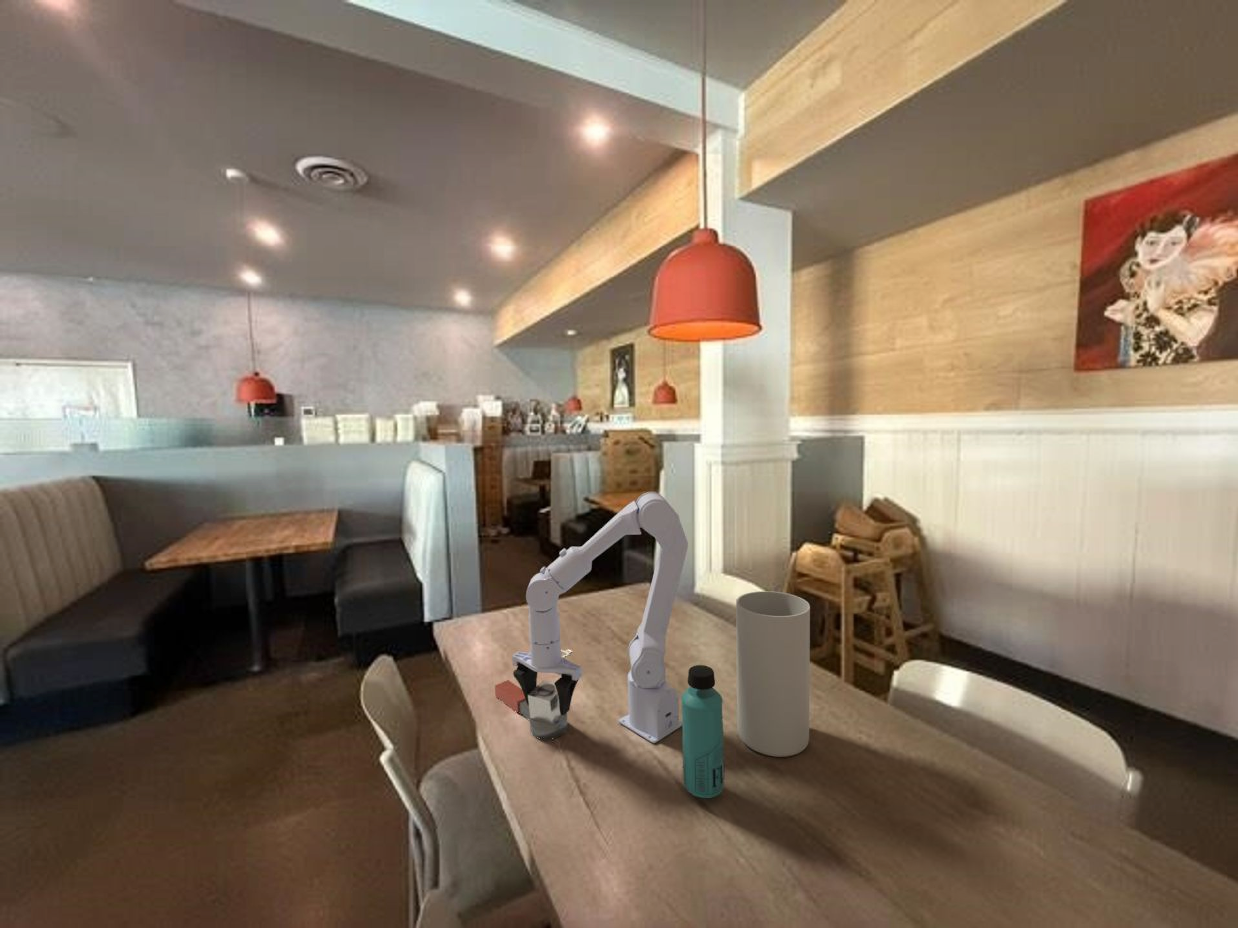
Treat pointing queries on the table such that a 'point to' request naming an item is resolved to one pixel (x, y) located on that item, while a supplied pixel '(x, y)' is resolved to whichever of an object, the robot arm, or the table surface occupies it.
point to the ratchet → (518, 703)
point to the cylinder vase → (773, 672)
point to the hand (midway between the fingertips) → (548, 707)
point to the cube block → (544, 703)
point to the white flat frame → (566, 652)
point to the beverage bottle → (702, 734)
